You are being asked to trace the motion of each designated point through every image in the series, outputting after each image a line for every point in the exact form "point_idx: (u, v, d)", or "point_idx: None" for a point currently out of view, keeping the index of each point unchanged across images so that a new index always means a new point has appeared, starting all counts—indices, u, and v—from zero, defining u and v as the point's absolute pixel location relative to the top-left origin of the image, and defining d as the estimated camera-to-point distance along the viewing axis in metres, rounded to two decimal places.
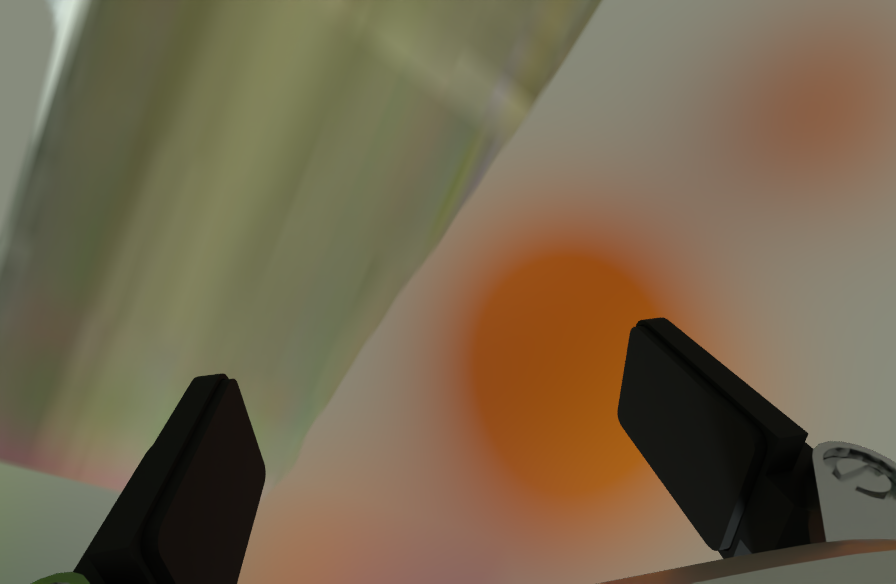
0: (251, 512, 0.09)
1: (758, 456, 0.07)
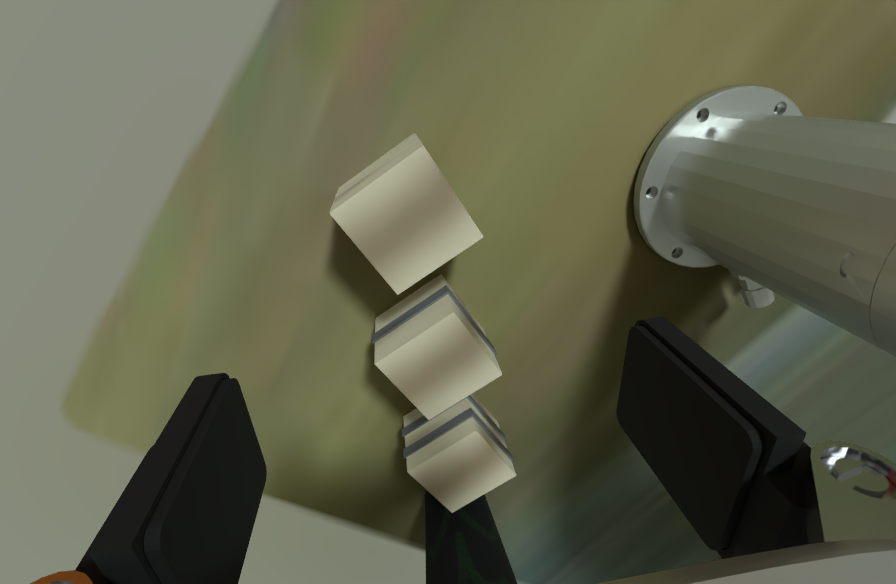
0: (252, 511, 0.09)
1: (756, 455, 0.07)
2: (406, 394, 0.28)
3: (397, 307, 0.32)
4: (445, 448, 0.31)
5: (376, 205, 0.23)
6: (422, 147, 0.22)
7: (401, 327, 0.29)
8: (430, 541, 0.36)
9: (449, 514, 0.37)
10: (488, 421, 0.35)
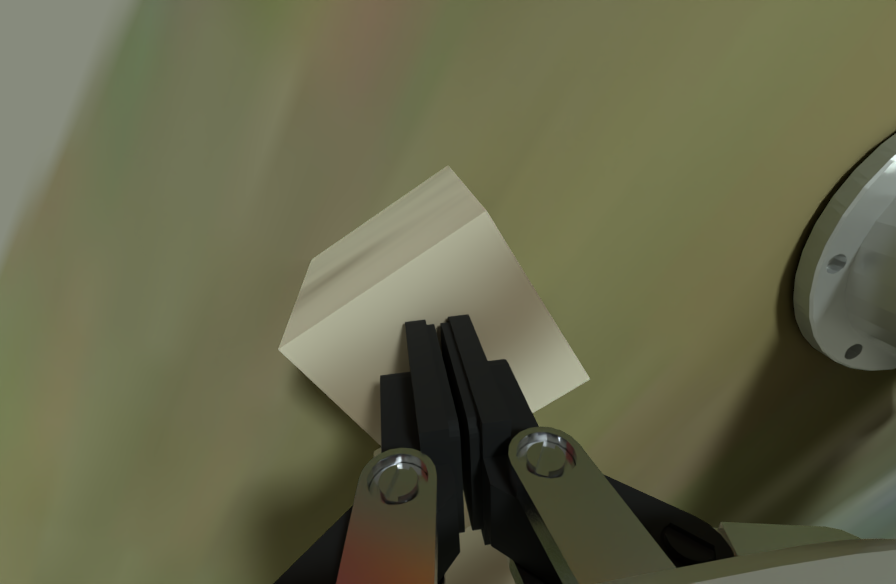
0: None
1: (476, 440, 0.08)
2: None
3: None
4: None
5: (378, 331, 0.11)
6: (484, 215, 0.10)
7: None
8: None
9: None
10: None
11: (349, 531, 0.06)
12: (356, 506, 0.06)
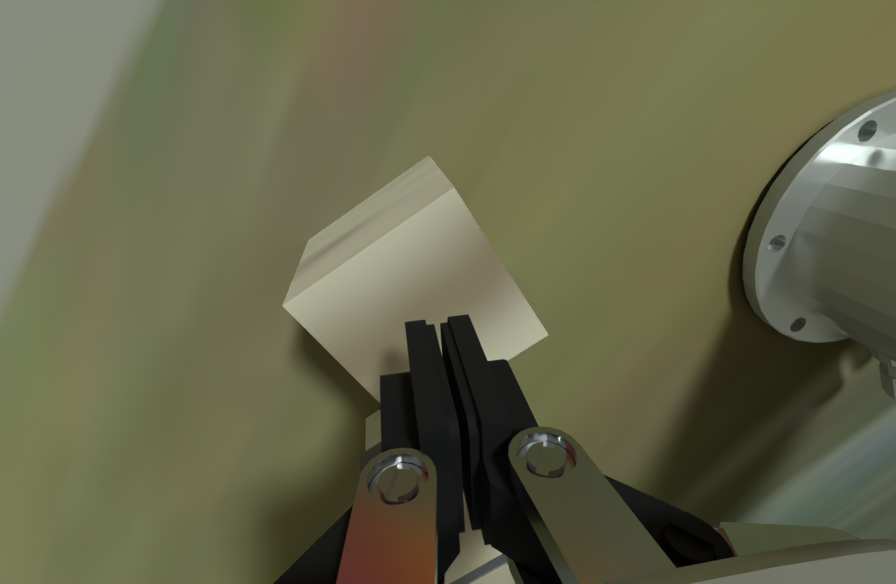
0: None
1: (476, 440, 0.08)
2: None
3: None
4: None
5: (366, 290, 0.13)
6: (452, 191, 0.12)
7: None
8: None
9: None
10: None
11: (349, 531, 0.06)
12: (356, 506, 0.06)
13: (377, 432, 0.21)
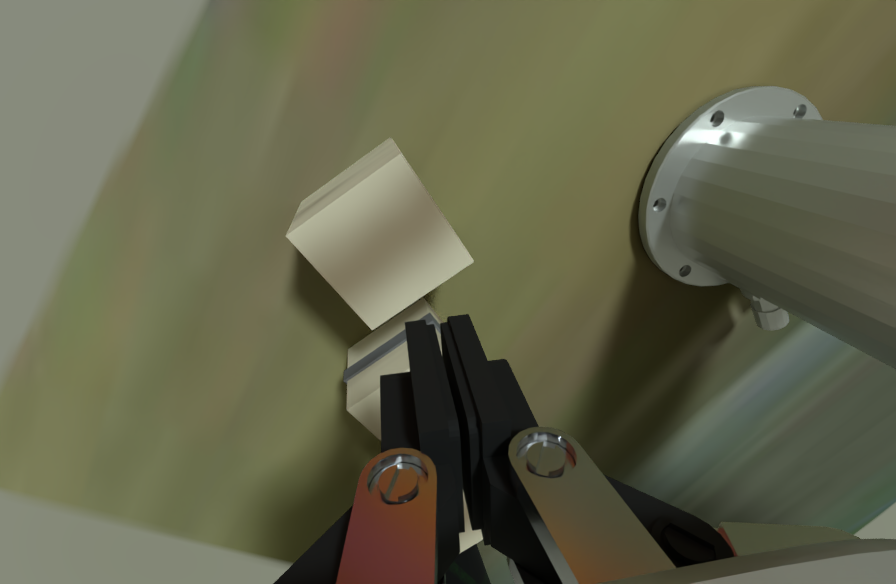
0: None
1: (476, 440, 0.08)
2: None
3: (372, 336, 0.27)
4: None
5: (343, 225, 0.19)
6: (399, 155, 0.18)
7: (378, 363, 0.25)
8: None
9: None
10: None
11: (349, 531, 0.06)
12: (356, 506, 0.06)
13: (356, 356, 0.27)
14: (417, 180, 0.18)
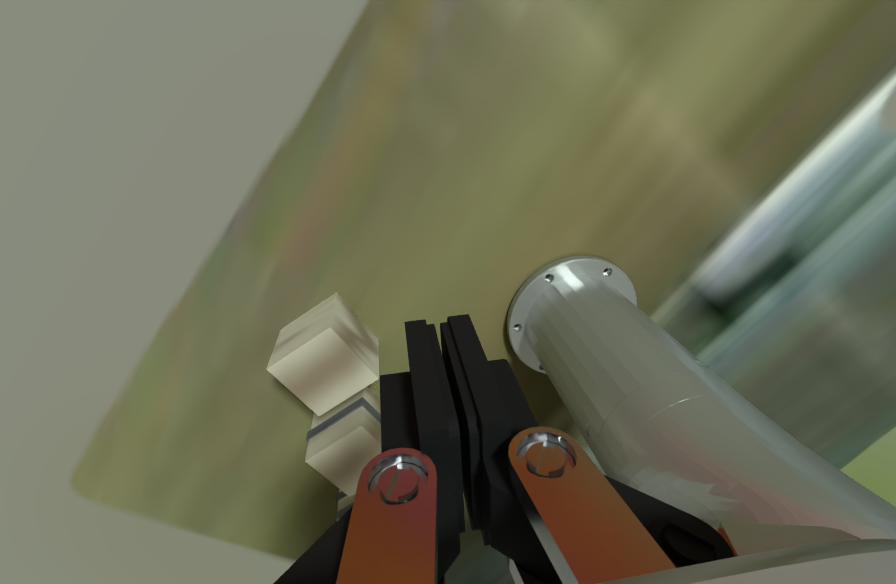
0: None
1: (476, 440, 0.08)
2: (330, 480, 0.38)
3: None
4: None
5: (299, 363, 0.33)
6: (329, 328, 0.32)
7: (328, 430, 0.39)
8: None
9: None
10: None
11: (349, 531, 0.06)
12: (356, 506, 0.06)
13: (317, 421, 0.41)
14: (340, 339, 0.32)
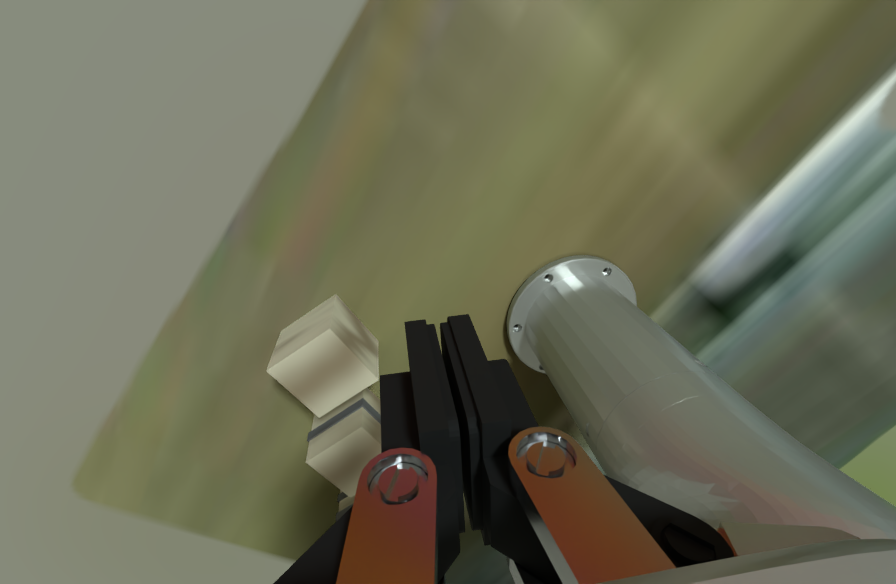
0: None
1: (476, 440, 0.08)
2: (331, 481, 0.39)
3: None
4: None
5: (299, 364, 0.33)
6: (329, 329, 0.32)
7: (328, 431, 0.39)
8: None
9: None
10: None
11: (349, 531, 0.06)
12: (356, 506, 0.06)
13: (318, 422, 0.41)
14: (340, 340, 0.33)
